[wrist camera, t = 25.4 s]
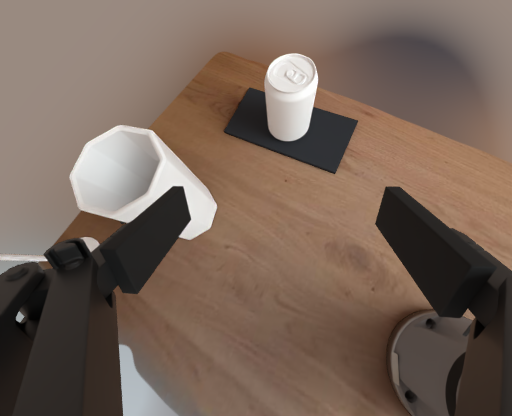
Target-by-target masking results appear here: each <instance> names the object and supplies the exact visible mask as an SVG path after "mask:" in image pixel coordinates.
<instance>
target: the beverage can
mask: <svg viewBox="0 0 512 416" xmlns="http://www.w3.org/2000/svg"><path fill="white" fill-rule="evenodd" d="M317 84H318V75H317V71H316V66H315V64H314V62H313V61H312V60H311V59H310V58H308V57H306V56H304V55H301V54H286V55H283V56H281V57H279V58H277V59H276V60H274V61H273V62H272V63H271V64H270V66H269V68H268V71H267V74H266V77H265V82H264V85H265V96H266V107H267V118H268V128H269V131H270V133H271V134H272V135H273V136H274V137H275V138H277V139H279V140H282V141H294V140H297V139H299V138H301V137H302V136H303V135H304V134H305V133H306V132H307V130H308V128H309V124H310V119H311V114H312V109H313V104H314V99H315V94H316V89H317Z"/></svg>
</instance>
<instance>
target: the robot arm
mask: <svg viewBox="0 0 512 416" xmlns="http://www.w3.org/2000/svg"><path fill="white" fill-rule="evenodd" d="M190 221H191V216H190V212H189V208H188V204H187V199H186V195H185V191H184V187H183V186H172V187H171V188H170V189H169V190H168V191H167V192H165V193H164V194H163V195H162V196H161V197H160V198H158V199H157V200H156V201H155V202H154V203H152V204H151V205H150V206H149V207H148V208H147V209H145V210H144V211H143V212H142V213H141V214H140V215H138V216H137V217H136V218H135V219H134V220H132V221H131V222H129V223H127V224H125V225H123V226H122V227H121V228H119V229H118V230H117V231H116V233H113V234H112V235H111V236H110V237H109V238H107V239H106V240H105V241H104V242H103V243H101V244H100V245H99V246H98V247H97V248H95V249H94V250H93V251H92V252H90V250H89V248H88V247H87V245H86V243H85V242H84V240H83V239H80V238H74V239H69V240H65V241H63V242H60V243H58V244H56V245H54V246H52V247H51V248H49V249H48V250H47V251H46V252H45V253H44V256H45V258H46V259H47V260H48V262H49V263H50V264H51V266H52V267H53V268H52V269H47V270H42V268H41V267H40V266H39V265H38V263H36V262H29V263H24V264H21V265H17V266H15V267H12V268H10V269H8V270H7V271H6V272H4V273H2V274H1V275H0V416H123V408H122V391H121V375H120V359H119V343H118V326H117V310H116V296H115V294H114V292H113V290H114V289H115V288H116V287H117V285H119V287H120V289H121V290H122V292H123V293H130V294H138V293H139V291H140V290H141V288H142V287H143V286H144V284H145V283H146V282H147V280H148V279H149V277H150V276H151V275H152V273H153V272H154V271H155V269H156V268H157V266H158V265H159V264H160V262H161V261H162V259H163V258H164V257H165V255H166V254H167V253H168V251H169V250H170V248H171V247H172V246H173V244H174V243H175V241H176V240H177V239H178V237H179V236H180V235H181V233H182V232H183V230H184V229H185V228H186V226H187V225H188V224H189V222H190ZM375 224H376V226H377V227H378V229H379V230H380V232H381V233H382V235H383V236H384V238H385V239H386V240H387V242H388V243H389V245H390V246H391V248H392V249H393V251H394V252H395V253H396V255H397V256H398V258H399V259H400V261H401V262H402V264H403V265H404V267H405V268H406V269H407V271H408V272H409V274H410V275H411V277H412V278H413V280H414V281H415V283H416V284H417V285H418V287H419V288H420V290H421V291H422V293H423V294H424V296H425V297H426V298H427V300H428V301H429V303H430V304H431V306H432V307H433V309H434V310H424V311H419V312H415V313H413V314H411V315H409V316H407V317H406V318H404V319H403V320H402V321H401V322H399V324H398V325H397V326H396V327H395V329H394V330H393V332H392V334H391V336H390V339H389V341H388V345H387V353H386V363H387V370H388V375H389V378H390V381H391V384H392V386H393V389H394V391H395V393H396V395H397V396H398V398H399V400H400V401H401V403H402V404H403V406H404V407H405V408H406V409H407V411H408V412H409V413H410V414H411V415H412V416H512V271H511V270H510V269H509V268H507V267H506V266H505V265H503V264H502V263H501V262H500V261H498V260H497V259H496V258H495V257H493V256H492V255H491V254H490V253H488V252H487V251H484V249H483V248H482V247H481V246H479V245H478V244H476V242H474V241H473V240H472V239H470V238H469V237H468V236H467V235H465V234H463V233H461V232H459V231H457V230H455V229H453V228H449V227H448V226H446V225H445V224H444V223H443V222H442V221H440V220H439V219H438V218H437V217H435V216H434V215H433V214H432V213H431V212H429V211H428V210H427V209H426V208H425V207H423V206H422V205H421V204H420V203H419V202H417V201H416V200H415V199H414V198H412V197H411V196H410V195H409V194H408V193H406V192H405V191H404V190H403V189H402V188H400V187H386V188H385V191H384V195H383V198H382V202H381V205H380V209H379V212H378V216H377V219H376V223H375ZM467 309H469V310H470V311H471V312H472V314H473V315H474V316H475V317H476V318H475V319H474V320H473V321H472V320H470V319H468V318H465V317H463V314H464V313H465V311H466V310H467ZM19 311H20V312H21V313H22V314H23V315H24V316H25V317H24V318H23V320H22V321H21V322H20V323H19V322H18V321H16V316H17V314H18V312H19Z"/></svg>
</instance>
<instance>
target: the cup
mask: <svg viewBox="0 0 512 416" xmlns="http://www.w3.org/2000/svg"><path fill="white" fill-rule="evenodd" d="M70 182H71V185H72V188H73V192H74V195H75V198H76V201H77V205H78V208H79V209H80V210H82V211H86V212H89V213H93V214H97V215H100V216H104V217H108V218H111V219H115V220H118V221H122V222H126V223H129V222H131V221H132V220H134V219H135V218H136V217H137V216H138V215H140V214H141V213H142V212H143V211H144V210H145V209H147V208H148V207H149V206H150V205H151V204H152V203H154V202H155V201H156V200H157V199H158V198H160V197H161V196H162V195H163V194H164V193H165V192H167V191H168V190H169V189H170V188H171V187H172V186H183V187H184V191H185V195H186V199H187V204H188V208H189V212H190V216H191V221H190V222H189V224H188V225H187V226H186V228H185V229H184V230H183V232H182V233H181V235H180V236H179V237H180V238H184V239H188V240H191V239H193V238H195V237H196V236H198V235H200V234H201V233H203V232H205V231H207V230H208V229H210V228H211V225H212V222H213V219H214V216H215V213H216V209H217V204H216V203H215V201H214V199H213V197H212V195H211V193H210V192H209V190H208V188H207V187H206V186H205V185H204V184H203V183H202V182H201V181H200V180H199V179H198V178H197V177H196V176H195V175H194V174H193V173H192V172H191V171H190V170H189V168H188V167H187V166H186V165H185V164H184V163H183V162H182V161H181V160H180V159H179V158H178V157H177V156H176V155H175V154H174V153H173V152H172V151H171V150H170V149H169V148H168V146H167V145H166V144H165V143H164V142H163V141H162V140H161V139H160V138H159V137H158V136H157V135H156V134H155V133H154V132H153V131H152V130H148V129H142V128H135V127H131V126H124V125H119V126H116V127H114V128H112V129H111V130H109V131H107V132H105V133H104V134H102V135H100V136H98V137H97V138H95V139H93V140H91V141H89V142H87V144H86V145H85V146H84V148H83V150H82V152H81V154H80V156H79V158H78V160H77V162H76V164H75V166H74V168H73V170H72V172H71V174H70Z"/></svg>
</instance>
